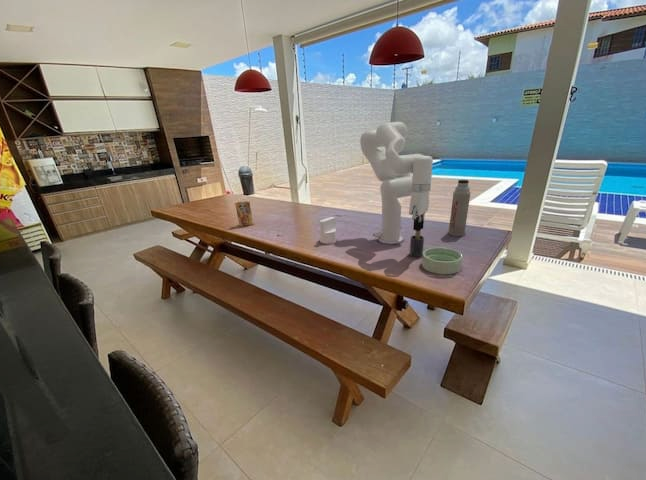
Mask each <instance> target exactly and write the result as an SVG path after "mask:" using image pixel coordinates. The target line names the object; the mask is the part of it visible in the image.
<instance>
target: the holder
mask: <svg viewBox="0 0 646 480" xmlns="http://www.w3.org/2000/svg"><path fill="white" fill-rule="evenodd" d="M415 235H416V234H415ZM415 235H411V236H410V241H409V257H412V258H421V257H423V252H424V247H425V246H424V245H425V237H424V236H423V235H420V239H415Z"/></svg>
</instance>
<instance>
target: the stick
mask: <svg viewBox="0 0 646 480" xmlns="http://www.w3.org/2000/svg"><path fill="white" fill-rule="evenodd" d="M418 218H419V217H418ZM421 218H422V217H421ZM420 222H421V221H420ZM421 230H422V229H421ZM421 230H420V231H417V230H415V239H420V236H421Z"/></svg>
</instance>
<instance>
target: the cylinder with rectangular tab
mask: <svg viewBox="0 0 646 480" xmlns="http://www.w3.org/2000/svg"><path fill="white" fill-rule="evenodd" d="M318 224H319V230H318V231H319V243H322V244H323V245H330V244H334V243H336V242H337V240H338V238H337V236H338V235H337V229H336V218H335V217H334V216H330V217H326V218H323V219H321V220H319V223H318Z"/></svg>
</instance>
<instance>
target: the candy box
mask: <svg viewBox="0 0 646 480" xmlns="http://www.w3.org/2000/svg"><path fill="white" fill-rule="evenodd" d="M234 205H235V210H236V216H237V221H238V225H239V227H243V226H251V225H254V220H253V214H252V208H251V202H250V200H249V199H248V200H240V201H235V202H234Z"/></svg>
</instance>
